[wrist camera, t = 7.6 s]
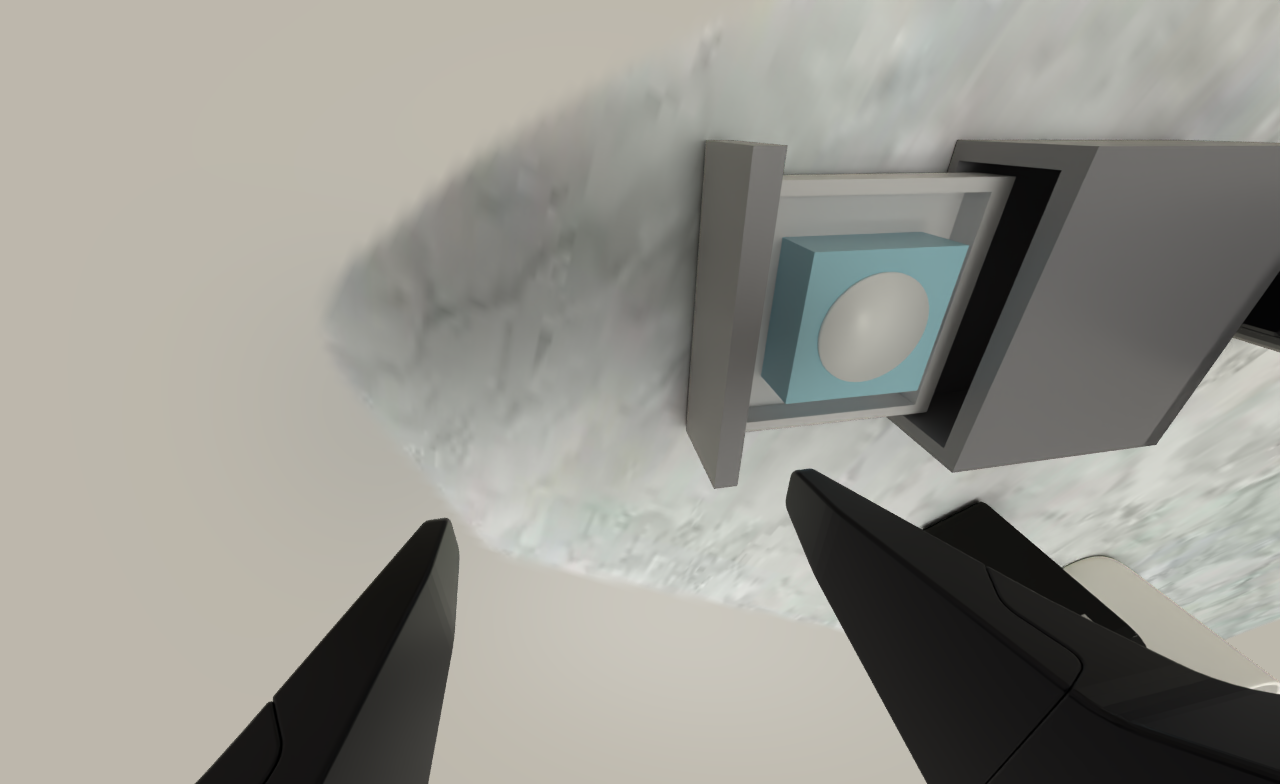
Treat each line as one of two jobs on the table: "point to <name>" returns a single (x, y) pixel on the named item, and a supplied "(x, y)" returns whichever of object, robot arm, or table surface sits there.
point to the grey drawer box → (1100, 294)
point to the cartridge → (857, 313)
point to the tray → (747, 268)
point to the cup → (1167, 624)
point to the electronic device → (1023, 563)
